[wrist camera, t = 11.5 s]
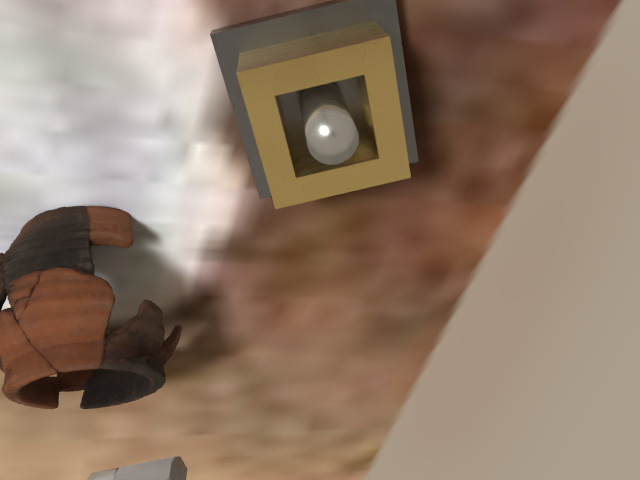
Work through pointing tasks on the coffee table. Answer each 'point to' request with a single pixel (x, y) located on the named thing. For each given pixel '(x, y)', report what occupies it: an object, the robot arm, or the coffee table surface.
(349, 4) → the post
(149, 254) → the coffee table surface
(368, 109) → the wooden square frame
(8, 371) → the pottery mug
